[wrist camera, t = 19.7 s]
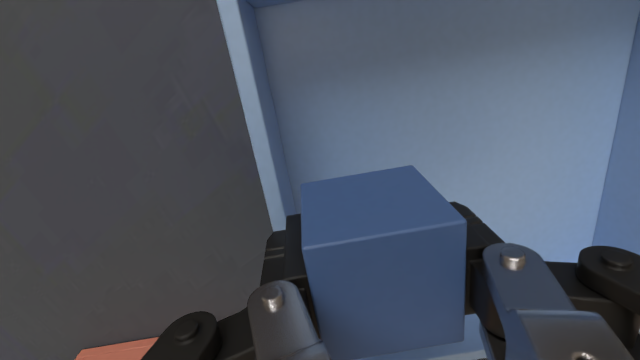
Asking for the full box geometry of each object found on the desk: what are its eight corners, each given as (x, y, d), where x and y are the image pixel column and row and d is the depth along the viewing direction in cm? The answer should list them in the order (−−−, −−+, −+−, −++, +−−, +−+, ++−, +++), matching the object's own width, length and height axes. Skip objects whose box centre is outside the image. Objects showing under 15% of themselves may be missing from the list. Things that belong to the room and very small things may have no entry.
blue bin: (308, 314, 20) (311, 387, 15) (237, -4, 13) (208, -29, 9) (587, 268, 20) (666, 328, 15) (656, -75, 13) (829, -134, 9)
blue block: (317, 274, 13) (325, 365, 9) (299, 182, 11) (301, 248, 8) (417, 257, 13) (465, 342, 9) (412, 163, 11) (468, 220, 8)
